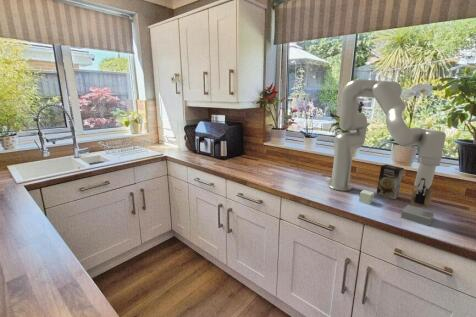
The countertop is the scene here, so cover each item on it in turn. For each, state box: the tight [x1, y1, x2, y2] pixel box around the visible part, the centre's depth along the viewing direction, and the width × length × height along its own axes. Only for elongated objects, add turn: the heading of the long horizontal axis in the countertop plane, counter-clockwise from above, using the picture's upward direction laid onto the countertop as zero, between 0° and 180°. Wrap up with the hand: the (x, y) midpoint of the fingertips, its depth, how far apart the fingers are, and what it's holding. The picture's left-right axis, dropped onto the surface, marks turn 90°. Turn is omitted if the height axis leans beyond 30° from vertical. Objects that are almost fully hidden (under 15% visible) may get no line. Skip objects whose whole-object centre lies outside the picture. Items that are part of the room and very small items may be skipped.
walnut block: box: [410, 186, 434, 208], centre depth 108 cm, size 6×6×6 cm
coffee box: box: [375, 164, 405, 200], centre depth 134 cm, size 9×6×16 cm
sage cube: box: [358, 189, 375, 205], centre depth 127 cm, size 5×5×5 cm
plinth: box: [400, 204, 435, 227], centre depth 110 cm, size 10×10×3 cm
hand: (420, 200), depth 109 cm, fingers closed on walnut block, 6 cm apart
